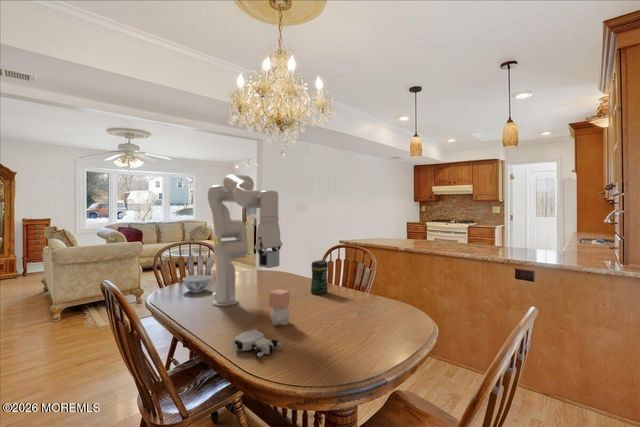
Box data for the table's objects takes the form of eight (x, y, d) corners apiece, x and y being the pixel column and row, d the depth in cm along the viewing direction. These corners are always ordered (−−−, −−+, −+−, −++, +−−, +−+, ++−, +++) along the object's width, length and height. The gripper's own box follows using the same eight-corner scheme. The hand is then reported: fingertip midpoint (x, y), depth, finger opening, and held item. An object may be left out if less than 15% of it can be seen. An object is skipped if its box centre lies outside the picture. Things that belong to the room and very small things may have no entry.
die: (281, 331, 128) (294, 309, 131) (263, 319, 129) (277, 298, 132) (283, 330, 136) (295, 310, 138) (266, 319, 137) (279, 299, 140)
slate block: (258, 266, 131) (258, 252, 131) (269, 264, 136) (269, 250, 136) (269, 268, 128) (269, 253, 127) (279, 265, 132) (279, 251, 132)
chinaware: (178, 290, 184) (178, 277, 184) (204, 286, 194) (204, 273, 194) (188, 296, 173) (188, 282, 173) (214, 291, 183) (214, 278, 183)
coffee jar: (319, 295, 176) (319, 262, 175) (308, 293, 180) (308, 260, 180) (330, 292, 183) (330, 260, 183) (319, 289, 188) (319, 258, 188)
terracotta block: (269, 306, 133) (269, 292, 132) (278, 302, 138) (278, 289, 137) (280, 309, 129) (280, 294, 129) (289, 305, 134) (289, 291, 134)
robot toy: (283, 351, 111) (253, 337, 119) (284, 338, 111) (253, 326, 119) (258, 365, 101) (227, 350, 109) (259, 352, 100) (227, 337, 109)
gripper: (276, 219, 141) (276, 260, 141) (246, 220, 126) (247, 265, 127) (289, 220, 136) (289, 261, 137) (260, 221, 122) (260, 268, 123)
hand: (269, 263), depth 132 cm, fingers closed on slate block, 6 cm apart
